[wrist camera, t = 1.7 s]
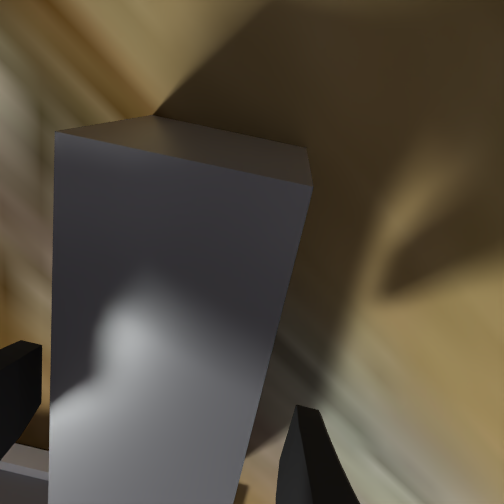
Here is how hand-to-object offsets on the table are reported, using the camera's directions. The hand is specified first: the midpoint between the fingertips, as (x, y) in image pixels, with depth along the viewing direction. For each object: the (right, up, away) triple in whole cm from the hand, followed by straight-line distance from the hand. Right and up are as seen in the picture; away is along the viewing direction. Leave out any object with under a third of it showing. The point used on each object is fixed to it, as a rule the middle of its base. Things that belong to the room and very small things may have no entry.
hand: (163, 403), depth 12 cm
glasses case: (0, +2, +4) cm, 5 cm away
